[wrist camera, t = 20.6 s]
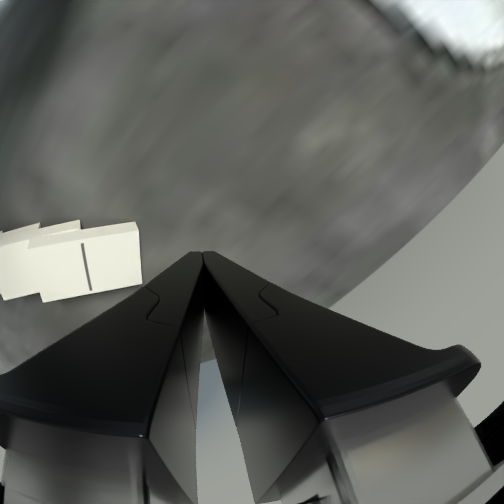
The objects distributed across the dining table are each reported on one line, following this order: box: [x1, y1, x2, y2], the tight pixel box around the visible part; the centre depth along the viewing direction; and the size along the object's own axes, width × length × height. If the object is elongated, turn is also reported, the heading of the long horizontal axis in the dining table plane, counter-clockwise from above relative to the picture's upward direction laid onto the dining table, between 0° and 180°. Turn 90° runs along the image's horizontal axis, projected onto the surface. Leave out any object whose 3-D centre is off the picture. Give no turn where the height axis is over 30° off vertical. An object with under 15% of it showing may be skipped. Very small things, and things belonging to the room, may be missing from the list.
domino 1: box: [0, 220, 81, 301], centre depth 19 cm, size 2×5×9 cm
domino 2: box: [27, 222, 142, 303], centre depth 20 cm, size 2×5×9 cm
